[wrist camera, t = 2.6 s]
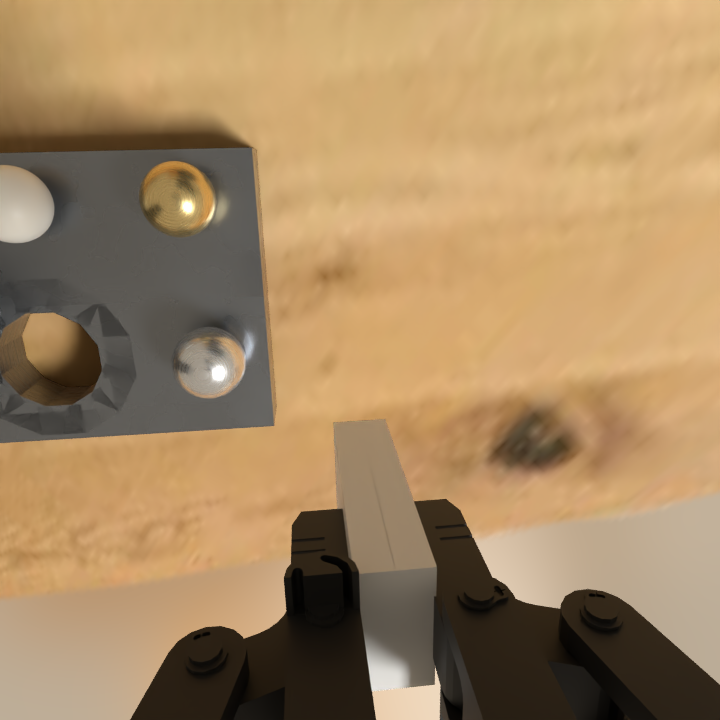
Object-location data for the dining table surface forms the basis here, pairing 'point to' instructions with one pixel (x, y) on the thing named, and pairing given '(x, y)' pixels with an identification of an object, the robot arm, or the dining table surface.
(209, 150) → the plate
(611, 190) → the dining table surface
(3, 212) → the white plastic ball
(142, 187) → the brass ball
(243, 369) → the steel ball
